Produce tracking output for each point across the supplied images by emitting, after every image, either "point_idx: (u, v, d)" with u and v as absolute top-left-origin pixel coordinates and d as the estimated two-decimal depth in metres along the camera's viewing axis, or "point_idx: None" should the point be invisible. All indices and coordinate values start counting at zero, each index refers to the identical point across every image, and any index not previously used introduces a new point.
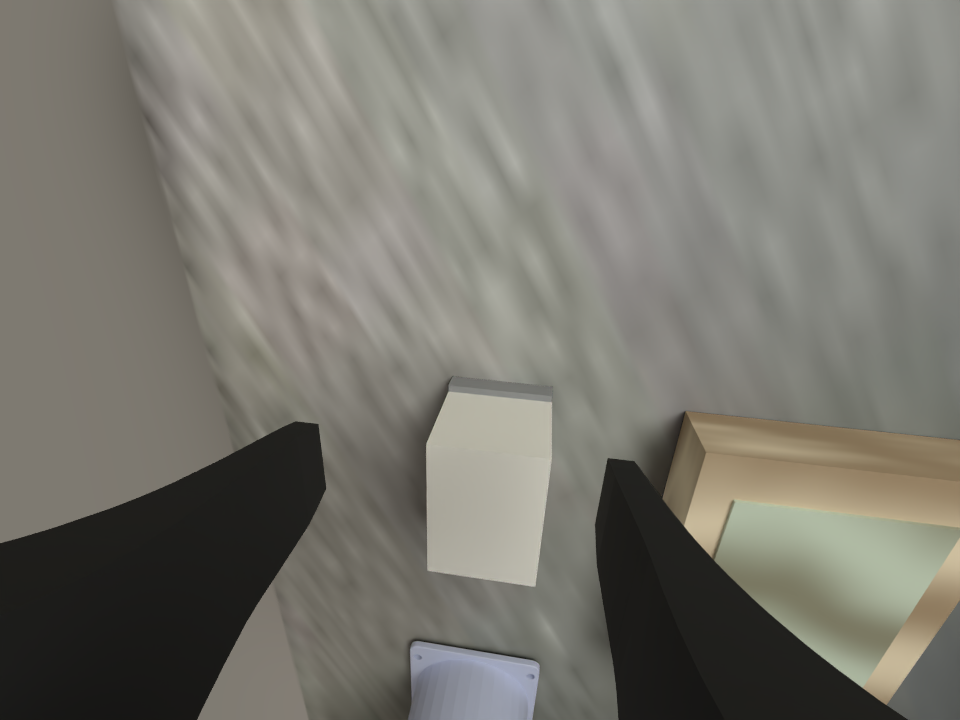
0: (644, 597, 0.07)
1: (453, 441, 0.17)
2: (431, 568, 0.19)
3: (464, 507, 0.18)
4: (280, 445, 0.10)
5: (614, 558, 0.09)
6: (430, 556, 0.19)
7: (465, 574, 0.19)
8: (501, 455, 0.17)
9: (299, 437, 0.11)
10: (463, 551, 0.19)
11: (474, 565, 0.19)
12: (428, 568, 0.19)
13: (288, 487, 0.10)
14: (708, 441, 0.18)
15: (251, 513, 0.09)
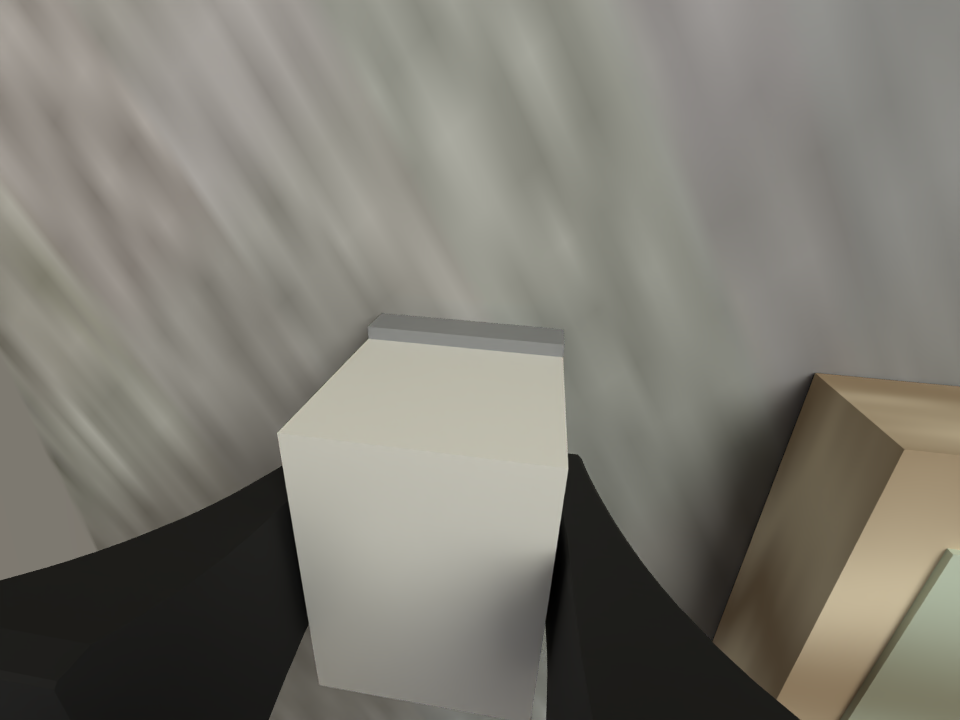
0: (563, 585, 0.08)
1: (344, 427, 0.07)
2: (325, 681, 0.10)
3: (376, 572, 0.08)
4: None
5: None
6: (320, 661, 0.10)
7: (393, 694, 0.10)
8: (448, 459, 0.07)
9: None
10: (383, 655, 0.09)
11: (407, 680, 0.09)
12: (320, 681, 0.10)
13: None
14: (894, 427, 0.09)
15: None
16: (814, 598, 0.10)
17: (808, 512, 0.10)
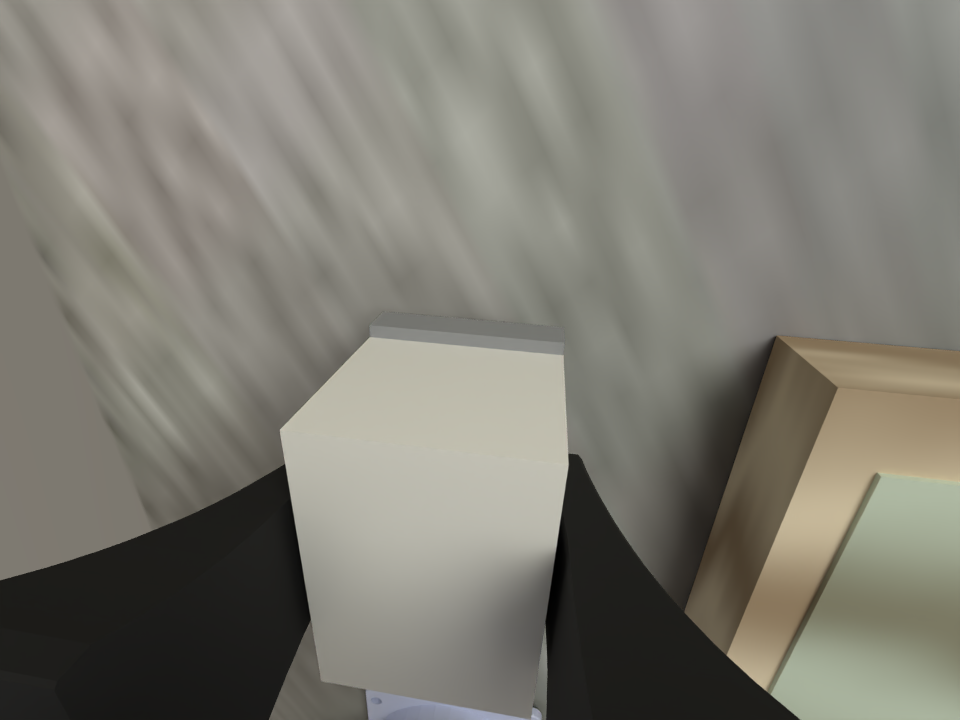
0: (564, 585, 0.08)
1: (346, 424, 0.08)
2: (328, 677, 0.10)
3: (378, 568, 0.08)
4: None
5: None
6: (322, 657, 0.10)
7: (394, 690, 0.10)
8: (450, 456, 0.07)
9: None
10: (385, 651, 0.09)
11: (409, 676, 0.10)
12: (322, 677, 0.10)
13: None
14: (833, 373, 0.10)
15: None
16: (772, 522, 0.12)
17: (769, 452, 0.12)
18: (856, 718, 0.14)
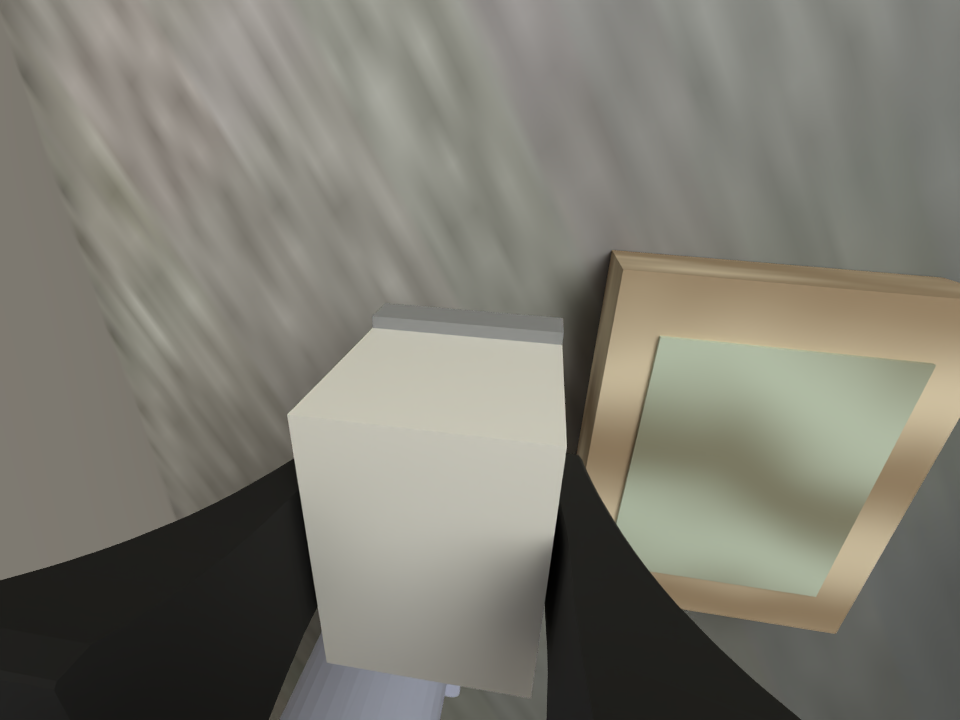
0: (564, 585, 0.08)
1: (350, 410, 0.08)
2: (333, 659, 0.10)
3: (382, 550, 0.09)
4: None
5: None
6: (328, 639, 0.10)
7: (398, 671, 0.10)
8: (452, 438, 0.07)
9: None
10: (389, 632, 0.10)
11: (412, 657, 0.10)
12: (327, 658, 0.10)
13: None
14: (629, 265, 0.15)
15: None
16: (600, 382, 0.16)
17: (603, 335, 0.17)
18: (679, 547, 0.18)
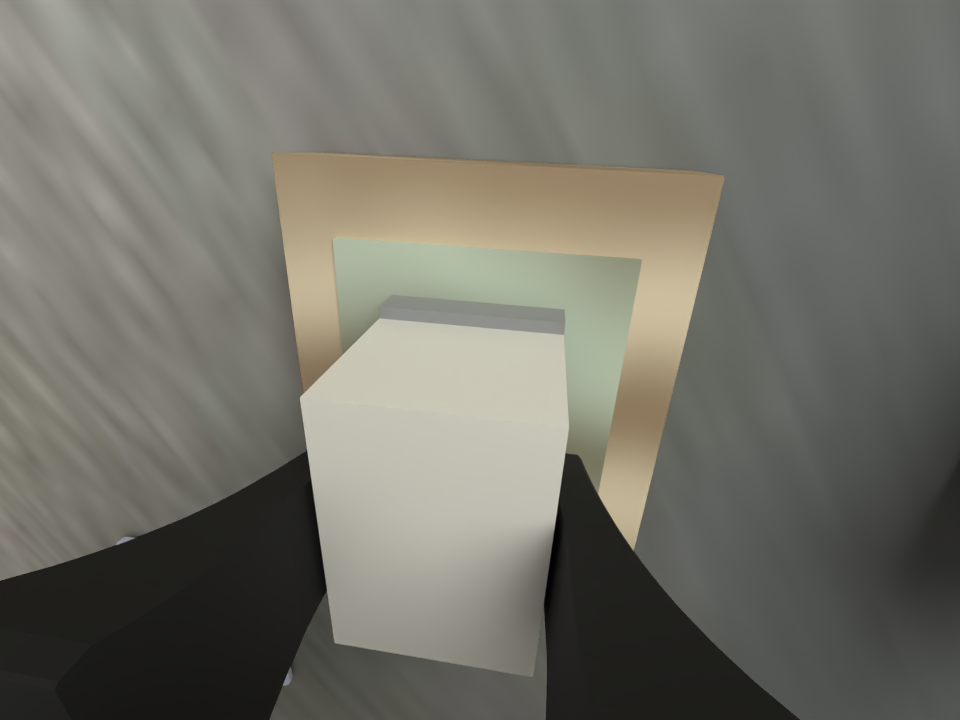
0: (563, 585, 0.08)
1: (361, 393, 0.08)
2: (340, 639, 0.10)
3: (390, 530, 0.09)
4: None
5: None
6: (336, 619, 0.10)
7: (404, 650, 0.10)
8: (459, 420, 0.08)
9: None
10: (396, 611, 0.10)
11: (418, 636, 0.10)
12: (335, 639, 0.11)
13: None
14: (297, 153, 0.12)
15: (312, 522, 0.09)
16: (297, 302, 0.14)
17: None
18: None
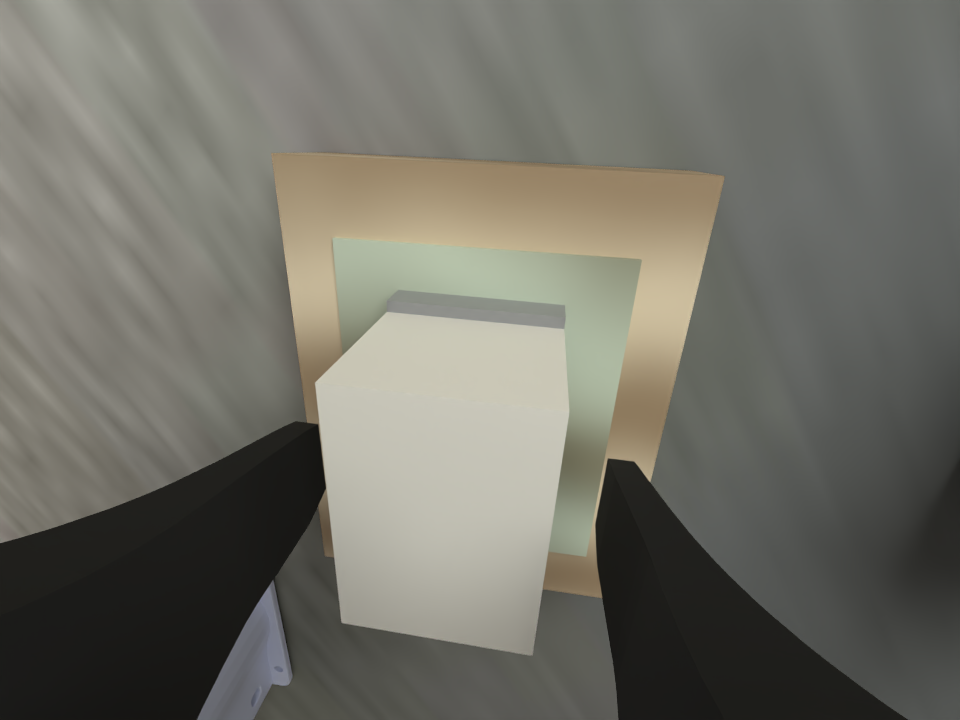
0: (644, 597, 0.07)
1: (372, 379, 0.09)
2: (347, 619, 0.11)
3: (397, 512, 0.09)
4: (280, 445, 0.10)
5: (614, 558, 0.09)
6: (343, 599, 0.11)
7: (409, 630, 0.11)
8: (466, 405, 0.08)
9: (299, 437, 0.11)
10: (401, 591, 0.10)
11: (422, 616, 0.10)
12: (342, 619, 0.11)
13: (288, 487, 0.10)
14: (297, 153, 0.12)
15: (251, 513, 0.09)
16: (296, 302, 0.14)
17: None
18: None
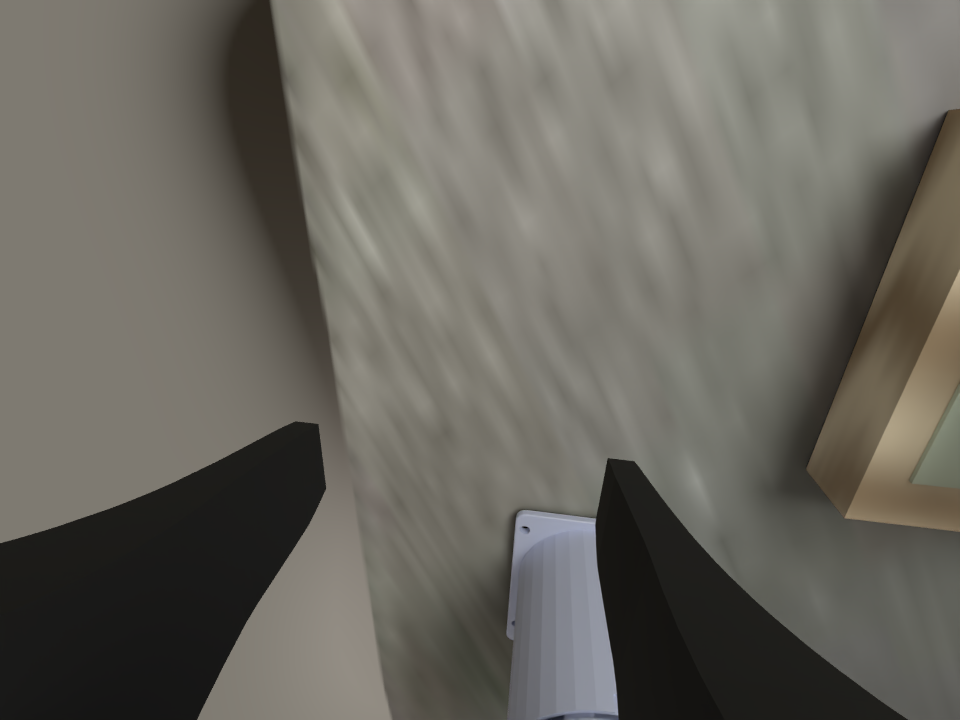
0: (644, 597, 0.07)
1: None
2: None
3: None
4: (280, 445, 0.10)
5: (614, 558, 0.09)
6: None
7: None
8: None
9: (299, 437, 0.11)
10: None
11: None
12: None
13: (288, 487, 0.10)
14: None
15: (251, 513, 0.09)
16: (956, 256, 0.14)
17: (947, 205, 0.14)
18: None
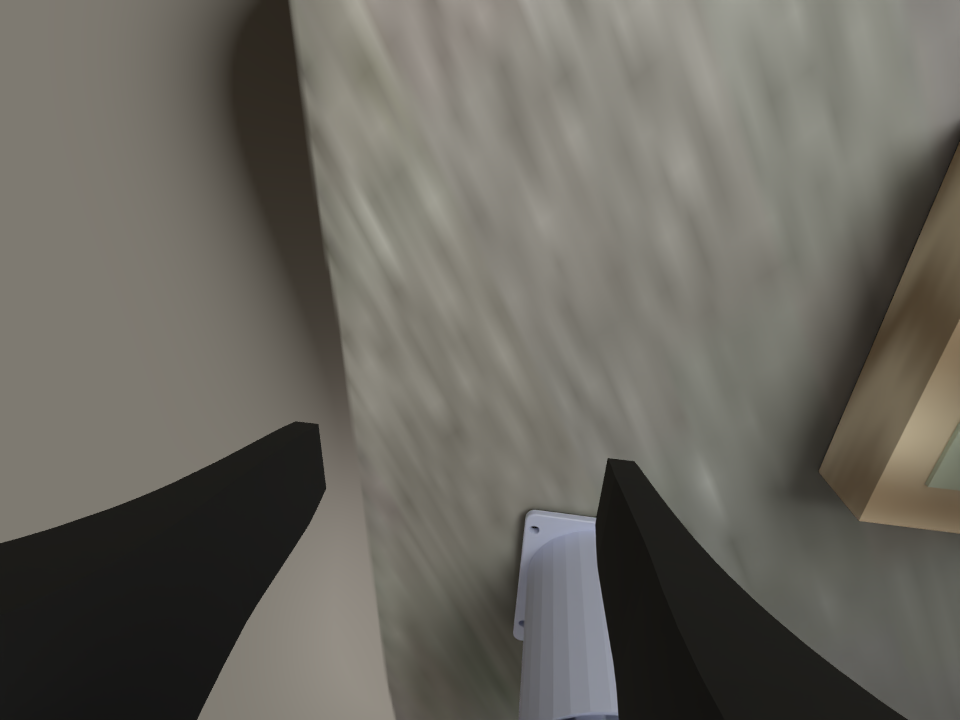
0: (644, 597, 0.07)
1: None
2: None
3: None
4: (280, 445, 0.10)
5: (614, 558, 0.09)
6: None
7: None
8: None
9: (299, 437, 0.11)
10: None
11: None
12: None
13: (288, 487, 0.10)
14: None
15: (251, 513, 0.09)
16: None
17: None
18: None
